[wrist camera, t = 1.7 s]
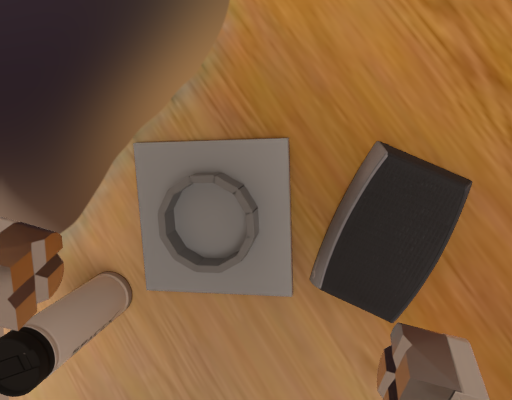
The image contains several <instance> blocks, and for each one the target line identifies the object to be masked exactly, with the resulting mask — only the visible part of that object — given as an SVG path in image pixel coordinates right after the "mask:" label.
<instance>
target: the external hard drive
mask: <svg viewBox="0 0 512 400" xmlns="http://www.w3.org/2000/svg"><path fill="white" fill-rule="evenodd" d="M471 185H472V181H470V180H468V179H466V178H464V177H461V176H459V175H457V174H454V173H452V172H450V171H447V170H445V169H443V168H440V167H438V166H436V165H434V164H431V163H429V162H426V161H424V160H422V159H419V158H417V157H415V156H412V155H410V154H408V153H406V152H403V151H401V150H398V149H396V148H393V147H391V146H389V145H388V144H385V143H382V142H379V141H377V142H376V143H375V145H374V146H373V147H372V149H371V151H370V152H369V153H368V155H367V157H366V158H365V160H364V162H363V163H362V165H361V167H360V168H359V170H358V172H357V173H356V175H355V177H354V179H353V180H352V182H351V184H350V186H349V188H348V189H347V191H346V193H345V195H344V197H343V199H342V201H341V203H340V205H339V207H338V209H337V211H336V213H335V215H334V217H333V220H332V222H331V224H330V226H329V228H328V231H327V233H326V235H325V238H324V240H323V242H322V245H321V248H320V250H319V253H318V255H317V258H316V261H315V264H314V267H313V270H312V273H311V277H310V281H311V282H312V284H313V285H314V286H316V287H317V288H319V289H320V290H322V291H325V292H327V293H329V294H331V295H333V296H335V297H337V298H339V299H342V300H344V301H346V302H348V303H350V304H352V305H355V306H357V307H359V308H361V309H363V310H365V311H367V312H370V313H372V314H374V315H376V316H378V317H380V318H382V319H384V320H386V321H389V322H390V323H393V322H394V321H395V320H396V319H397V318H398V317H399V316H400V315H401V314H402V312H403V311H404V310H405V309H406V308H407V306H408V305H409V304H410V302H411V301H412V300H413V298H414V297H415V296H416V294H417V293H418V291H419V290H420V289H421V287H422V286H423V284H424V283H425V281H426V279H427V278H428V276H429V275H430V273H431V272H432V270H433V268H434V267H435V265H436V263H437V262H438V260H439V258H440V256H441V254H442V252H443V251H444V249H445V247H446V245H447V243H448V241H449V239H450V237H451V234H452V232H453V230H454V228H455V226H456V223H457V221H458V219H459V216H460V214H461V212H462V209H463V207H464V204H465V202H466V199H467V196H468V194H469V191H470V188H471Z"/></svg>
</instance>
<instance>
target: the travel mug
mask: <svg viewBox="0 0 512 400" xmlns="http://www.w3.org/2000/svg"><path fill="white" fill-rule="evenodd" d="M131 299H132V292H131V288H130V286H129V284H128V282H127V281H126V280H125V279H124V278H123V277H122V276H121V275H119V274H117V273H114V272H104V273H101V274H99V275H97V276H96V277H94V278H93V279H91V280H90V281H88V282H86V283H85V284H83V285H82V286H80V287H78V288H77V289H75V290H74V291H72V292H71V293H69V294H67V295H66V296H64V297H63V298H61V299H60V300H58V301H56V302H55V303H53V304H52V305H50V306H48V307H47V308H45V309H44V310H42V311H41V312H39V313H37V314H36V315H34V316H33V317H31V318H30V319H29V320H28V321H27V323H26V324H25V325H24V326H23V327H22V328H21V329H20V330H19V331H15V330H11V331H10V332H8V333H7V334H5V335H4V336H2V337H0V393H1V394H3V395H6V396H12V397H16V396H22V395H25V394H27V393H29V392H30V391H31V390H33V389H34V388H35V387H36V386H37V385H39V384H40V383H41V382H42V381H43V380H44V379H45V378H47V377H48V376H50V375H51V374H52V373H53V372H54V371H55V370H57V369H58V368H59V367H60V366H61V365H62V364H64V363H65V362H66V361H67V360H68V359H69V358H70V357H72V356H73V355H74V354H75V353H76V352H77V351H79V350H80V349H81V348H82V347H83V346H84V345H85V344H87V343H88V342H89V341H90V340H91V339H92V338H94V337H95V336H96V335H97V334H98V333H99V332H100V331H102V330H103V329H104V328H105V327H106V326H107V325H108V324H110V323H111V322H112V321H113V320H114V319H115V318H117V317H118V316H119V315H120V314H121V313H122V312H123V311H125V310H126V309H127V308H128V306H129V305H130V303H131Z"/></svg>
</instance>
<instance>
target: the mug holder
mask: <svg viewBox="0 0 512 400" xmlns="http://www.w3.org/2000/svg"><path fill="white" fill-rule="evenodd" d="M133 144H134V155H135V167H136V178H137V189H138V200H139V211H140V222H141V233H142V244H143V255H144V266H145V277H146V288H147V290H153V291H176V292H198V293H221V294H243V295H266V296H289V297H292V296H293V271H292V233H291V194H290V156H289V138H269V139H238V140H207V141H176V142H145V143H133Z"/></svg>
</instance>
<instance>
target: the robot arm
mask: <svg viewBox="0 0 512 400" xmlns="http://www.w3.org/2000/svg"><path fill="white" fill-rule="evenodd" d="M62 248H63V246H62V236H61V235H60V234H58V233H57V232H54V231H51V230H47V229H44V228H41V227H37V226H34V225H30V224H27V223H23V222H18V221H15V220H12V219H8V218H5V217H0V327H3V328H7V329H11V330H15V331H19V330H20V329H21V328H22V327H23V326H24V325H25V324H26V323H27V321H28V320H29V319H30V318H31V317H32V316H33V315H34V314H35V313H36V312H37V303H40V302H42V301H45V300H48V299H49V298H50V297H51V296H52V295H53V294H54V293H55V292H56V291H57V289H58V287H59V285H60V283H61V281H62V277H63V272H64V264H63V261H62V260H61V258H60V257H59V255H58V254H57V253H58V252H59V251H60V250H61V249H62ZM390 336H391V346H389V347H387V348H385V349H384V351H383V353H382V356H381V358H380V362H379V366H378V371H377V391H378V392H379V394H380V395H381V396H382V398H383V400H490V399H489V396H488V393H487V391H486V388H485V385H484V382H483V379H482V376H481V374H480V371H479V368H478V365H477V362H476V359H475V356H474V354H473V351H472V348H471V345H470V343H469V341H468V340H467V339H464V338H460V337H456V336H452V335H448V334H441V333H437V332H433V331H429V330H425V329H422V328H418V327H414V326H410V325H406V324H402V323H397V324H396V325H395V326H394V328H393V330H392V333H391V335H390Z"/></svg>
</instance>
